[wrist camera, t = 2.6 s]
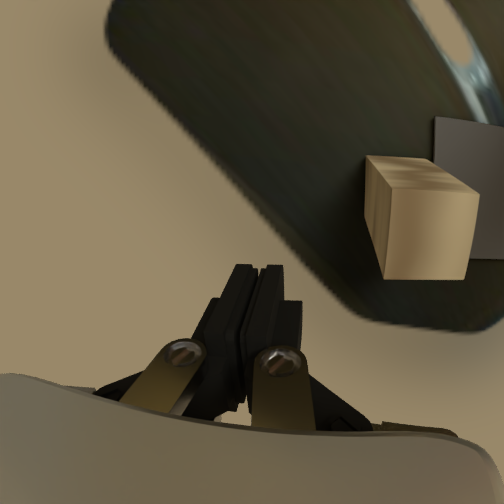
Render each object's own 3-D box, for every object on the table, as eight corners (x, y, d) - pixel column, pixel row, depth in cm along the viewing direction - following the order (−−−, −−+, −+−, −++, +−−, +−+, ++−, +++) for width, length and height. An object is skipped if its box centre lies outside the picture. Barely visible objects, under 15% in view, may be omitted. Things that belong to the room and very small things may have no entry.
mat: (527, 132, 18) (529, 132, 18) (509, 257, 24) (510, 259, 23) (434, 116, 20) (435, 116, 20) (423, 256, 26) (423, 257, 25)
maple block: (425, 158, 22) (479, 194, 13) (420, 217, 24) (463, 279, 15) (365, 155, 23) (392, 188, 14) (364, 215, 25) (383, 279, 17)
